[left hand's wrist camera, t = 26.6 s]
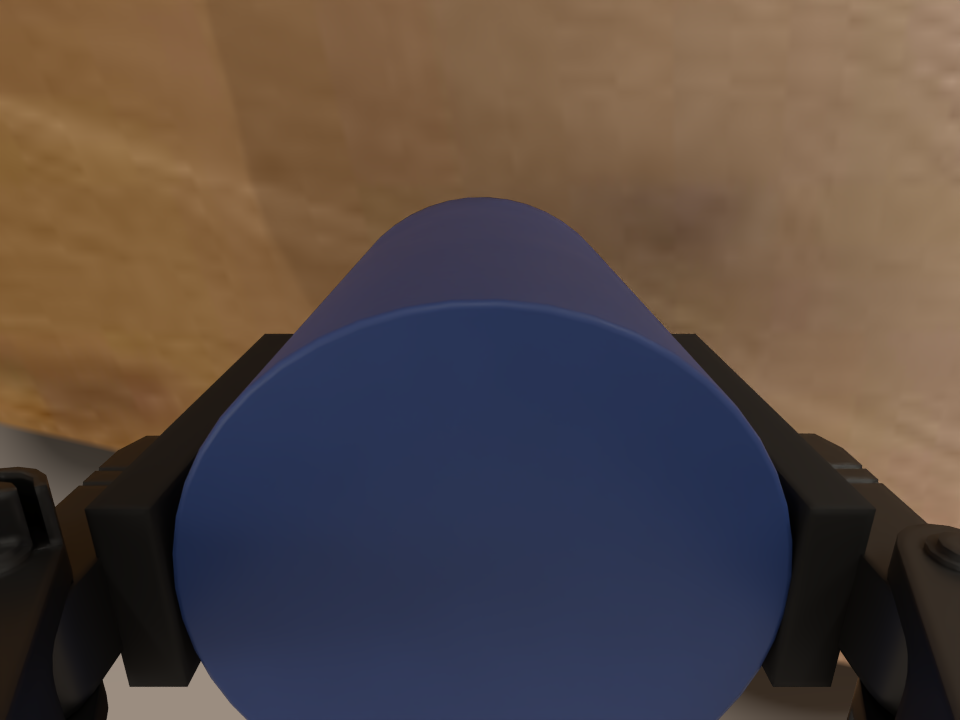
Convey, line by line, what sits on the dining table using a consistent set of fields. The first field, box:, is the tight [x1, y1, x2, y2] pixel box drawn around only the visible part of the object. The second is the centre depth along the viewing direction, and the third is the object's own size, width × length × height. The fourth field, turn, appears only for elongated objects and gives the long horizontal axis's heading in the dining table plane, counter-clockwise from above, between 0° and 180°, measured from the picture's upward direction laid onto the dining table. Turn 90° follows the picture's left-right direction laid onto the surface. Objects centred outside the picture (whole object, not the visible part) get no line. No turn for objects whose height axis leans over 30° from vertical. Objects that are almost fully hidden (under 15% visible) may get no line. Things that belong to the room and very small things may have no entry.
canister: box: [173, 197, 792, 720], centre depth 12 cm, size 8×8×10 cm
